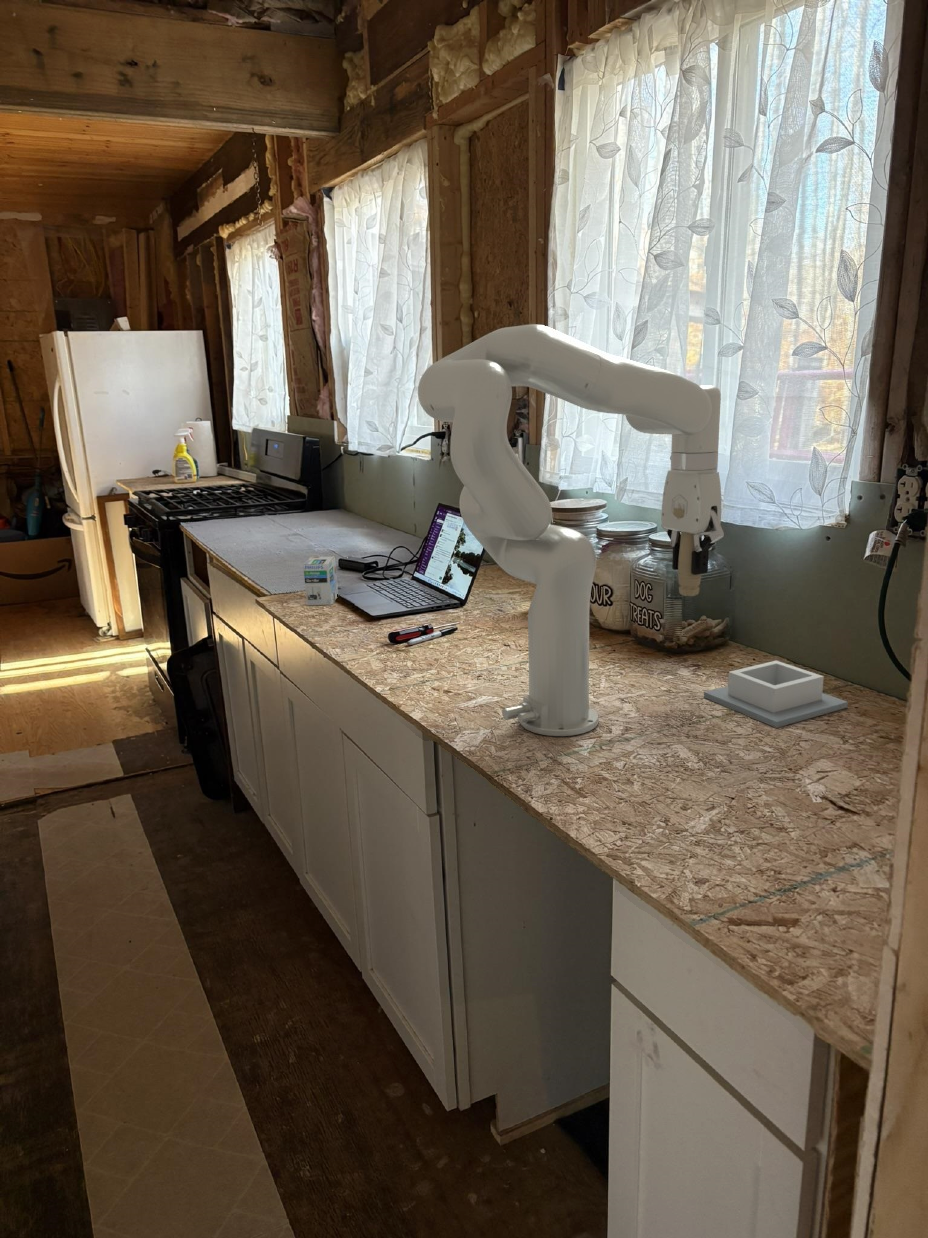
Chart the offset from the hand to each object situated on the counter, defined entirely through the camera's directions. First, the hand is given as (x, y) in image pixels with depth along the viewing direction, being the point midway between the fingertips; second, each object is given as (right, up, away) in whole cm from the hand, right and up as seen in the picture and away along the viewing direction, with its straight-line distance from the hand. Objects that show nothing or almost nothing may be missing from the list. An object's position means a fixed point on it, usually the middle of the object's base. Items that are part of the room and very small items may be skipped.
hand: (689, 570), depth 149 cm
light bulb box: (-75, -4, +76) cm, 107 cm away
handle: (0, -4, +1) cm, 4 cm away
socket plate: (+13, -22, -3) cm, 26 cm away
